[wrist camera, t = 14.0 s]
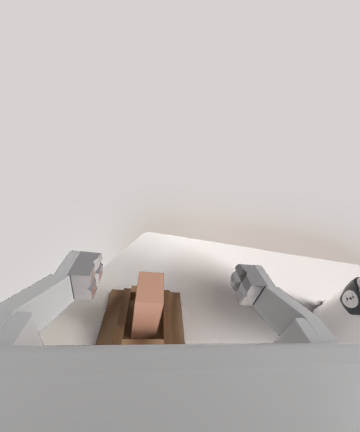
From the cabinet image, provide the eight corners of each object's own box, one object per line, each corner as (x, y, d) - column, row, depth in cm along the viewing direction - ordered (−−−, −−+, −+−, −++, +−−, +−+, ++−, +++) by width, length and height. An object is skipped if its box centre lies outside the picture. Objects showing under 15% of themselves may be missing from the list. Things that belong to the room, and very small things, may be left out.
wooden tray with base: (178, 295, 42) (182, 284, 40) (185, 366, 30) (190, 356, 28) (111, 292, 39) (111, 280, 37) (89, 369, 27) (88, 358, 25)
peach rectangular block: (156, 307, 37) (163, 273, 32) (155, 338, 32) (163, 303, 27) (135, 307, 36) (139, 271, 31) (130, 338, 31) (134, 302, 26)
